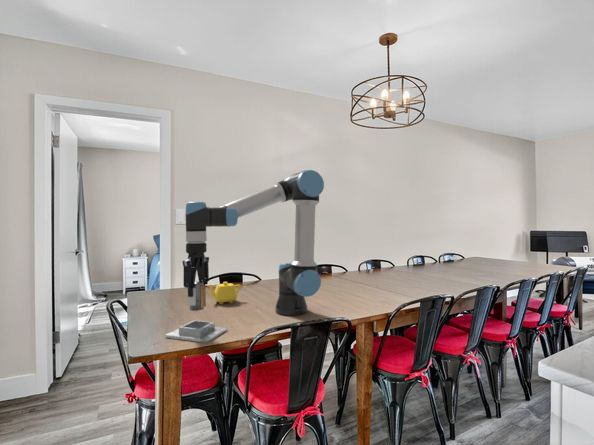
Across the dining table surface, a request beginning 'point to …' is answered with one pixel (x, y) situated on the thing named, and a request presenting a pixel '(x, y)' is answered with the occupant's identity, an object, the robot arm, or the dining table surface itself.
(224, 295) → the teapot
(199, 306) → the grey rounded cylinder
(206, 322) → the collar
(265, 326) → the dining table surface
